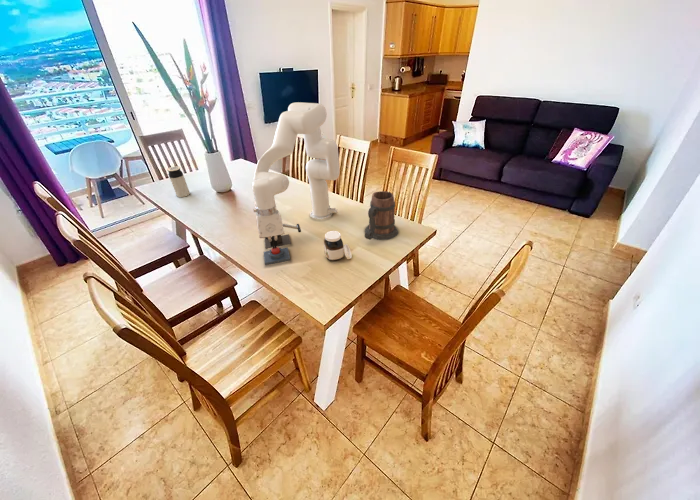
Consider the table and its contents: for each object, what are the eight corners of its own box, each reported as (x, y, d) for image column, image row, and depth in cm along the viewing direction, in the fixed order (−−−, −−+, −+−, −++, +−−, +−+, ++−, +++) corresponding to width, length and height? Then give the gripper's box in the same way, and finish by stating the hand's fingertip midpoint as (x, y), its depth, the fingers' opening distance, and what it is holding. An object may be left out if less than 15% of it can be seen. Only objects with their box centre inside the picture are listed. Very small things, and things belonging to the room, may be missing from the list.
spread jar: (322, 252, 137) (320, 231, 131) (345, 246, 141) (344, 225, 134) (331, 267, 128) (330, 245, 122) (355, 260, 132) (355, 238, 125)
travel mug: (192, 192, 198) (183, 166, 188) (185, 197, 192) (175, 170, 181) (181, 192, 199) (171, 166, 189) (174, 197, 192) (163, 170, 182)
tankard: (375, 219, 161) (375, 185, 150) (403, 227, 154) (406, 192, 142) (351, 240, 145) (350, 203, 134) (382, 250, 138) (384, 212, 126)
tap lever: (298, 227, 147) (299, 223, 146) (300, 233, 142) (301, 229, 141) (269, 222, 141) (271, 217, 140) (270, 228, 136) (272, 223, 135)
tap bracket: (289, 236, 150) (285, 213, 143) (291, 245, 143) (287, 222, 135) (264, 240, 147) (259, 217, 140) (266, 250, 140) (260, 227, 133)
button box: (288, 251, 139) (287, 244, 137) (290, 262, 132) (289, 255, 130) (264, 255, 137) (262, 248, 135) (265, 267, 130) (263, 259, 127)
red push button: (279, 249, 134) (279, 246, 133) (280, 253, 131) (279, 250, 130) (271, 250, 133) (270, 247, 132) (272, 255, 131) (271, 252, 130)
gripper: (248, 216, 115) (257, 254, 126) (286, 211, 119) (292, 248, 129) (247, 208, 121) (256, 245, 132) (284, 203, 125) (290, 239, 135)
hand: (274, 246), depth 131 cm, fingers closed
